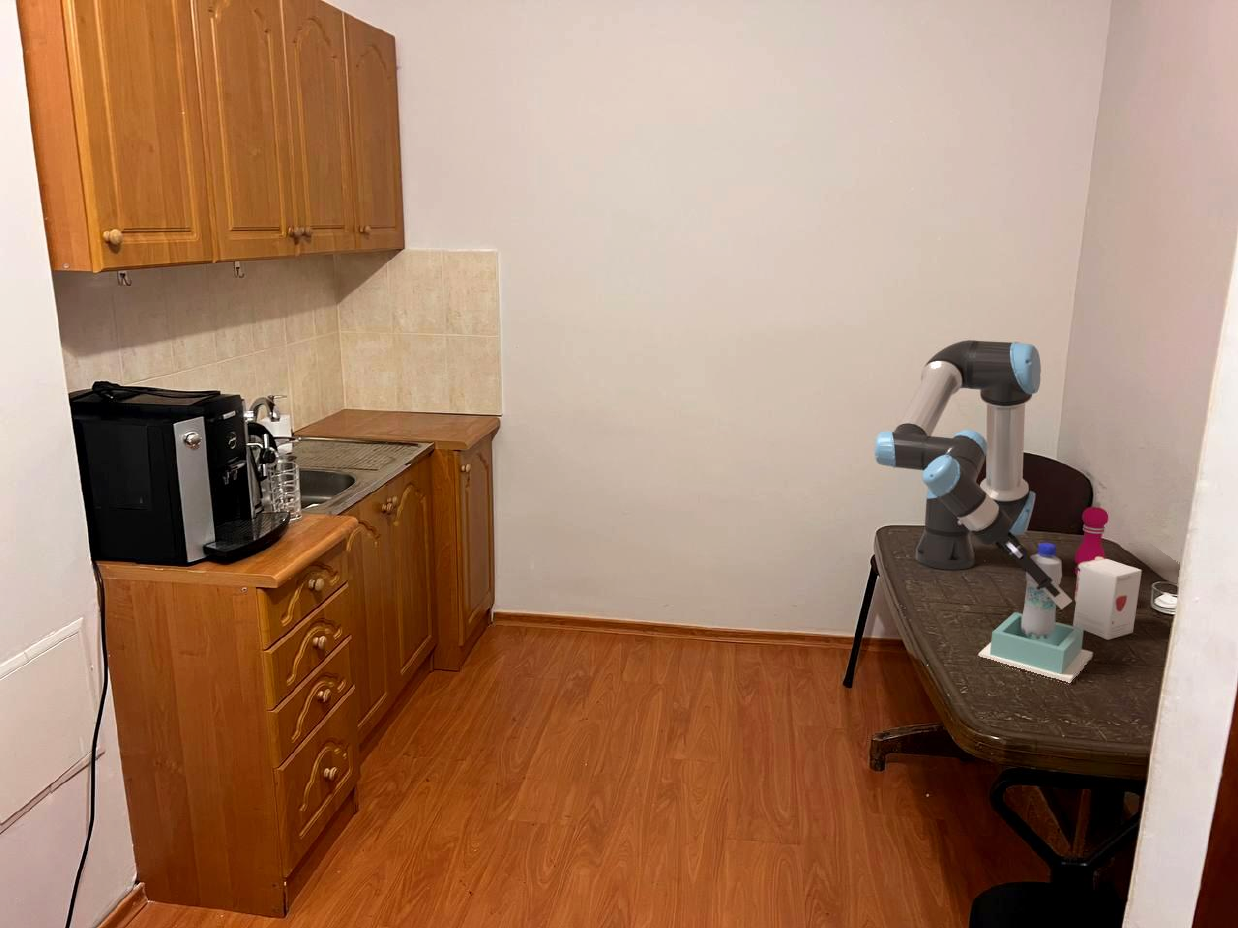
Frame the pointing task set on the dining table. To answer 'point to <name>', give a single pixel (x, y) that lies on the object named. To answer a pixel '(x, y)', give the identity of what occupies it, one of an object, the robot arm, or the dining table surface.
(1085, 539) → the magenta tall rounded piece
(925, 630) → the dining table surface
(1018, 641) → the holder
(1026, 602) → the bottle
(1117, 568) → the supplement box
